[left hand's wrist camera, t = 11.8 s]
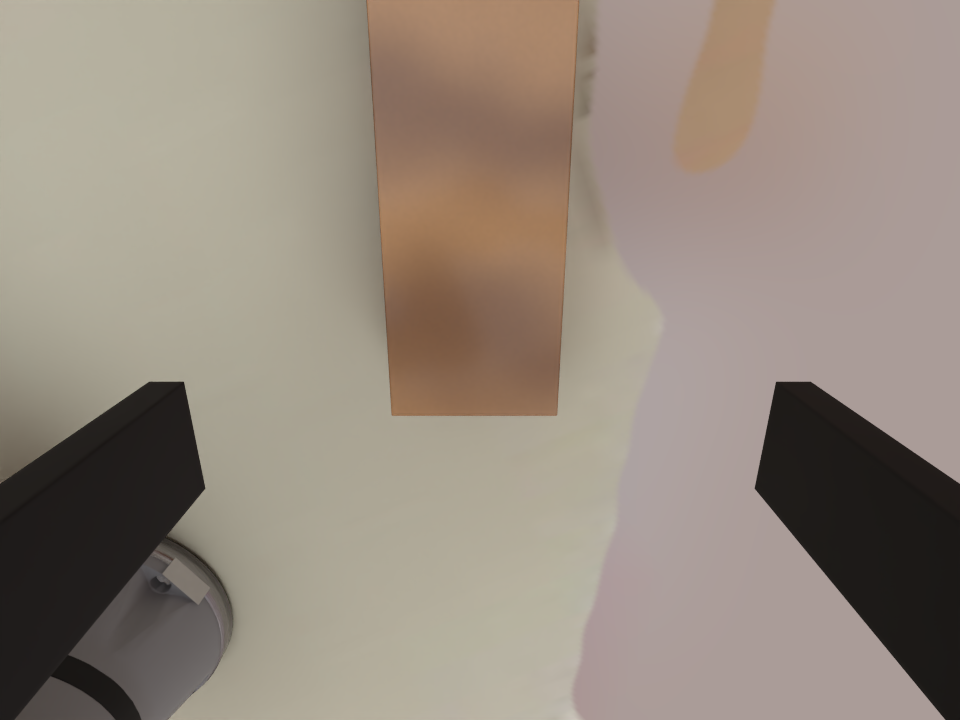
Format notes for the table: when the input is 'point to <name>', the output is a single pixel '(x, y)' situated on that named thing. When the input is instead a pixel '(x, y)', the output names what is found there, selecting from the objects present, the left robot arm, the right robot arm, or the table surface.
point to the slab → (473, 199)
